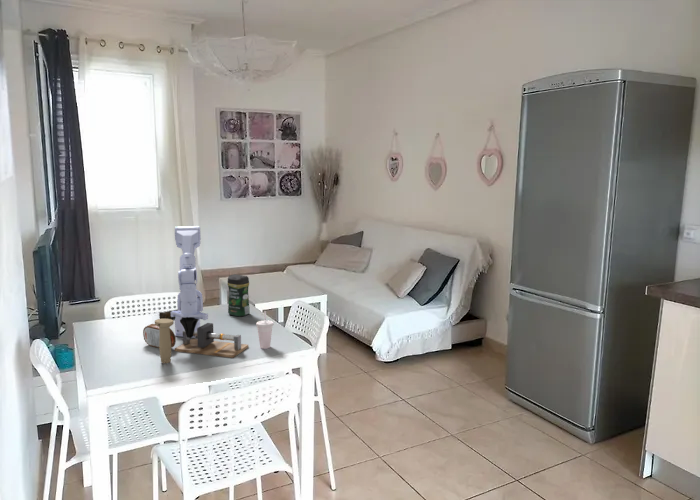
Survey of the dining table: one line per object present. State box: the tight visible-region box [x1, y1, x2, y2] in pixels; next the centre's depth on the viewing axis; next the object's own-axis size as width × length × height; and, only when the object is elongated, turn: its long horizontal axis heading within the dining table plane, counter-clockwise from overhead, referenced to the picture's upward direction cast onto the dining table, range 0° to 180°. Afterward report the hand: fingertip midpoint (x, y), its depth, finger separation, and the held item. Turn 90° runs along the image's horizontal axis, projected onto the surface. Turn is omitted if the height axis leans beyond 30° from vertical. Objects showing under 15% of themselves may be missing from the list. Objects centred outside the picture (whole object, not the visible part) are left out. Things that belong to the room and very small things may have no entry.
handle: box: [154, 318, 175, 365], centre depth 185 cm, size 5×6×15 cm
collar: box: [196, 322, 215, 348], centre depth 200 cm, size 2×7×7 cm, turn 164°
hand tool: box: [158, 308, 178, 319], centre depth 243 cm, size 19×4×5 cm, turn 136°
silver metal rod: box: [182, 330, 242, 351], centre depth 200 cm, size 23×2×5 cm, turn 74°
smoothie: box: [256, 311, 274, 350], centre depth 202 cm, size 6×6×14 cm
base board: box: [174, 338, 249, 359], centre depth 201 cm, size 24×12×1 cm, turn 74°
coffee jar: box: [227, 273, 251, 317], centre depth 246 cm, size 10×8×19 cm
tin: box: [142, 323, 177, 349], centre depth 202 cm, size 15×3×8 cm, turn 61°
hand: (190, 336), depth 199 cm, fingers closed
